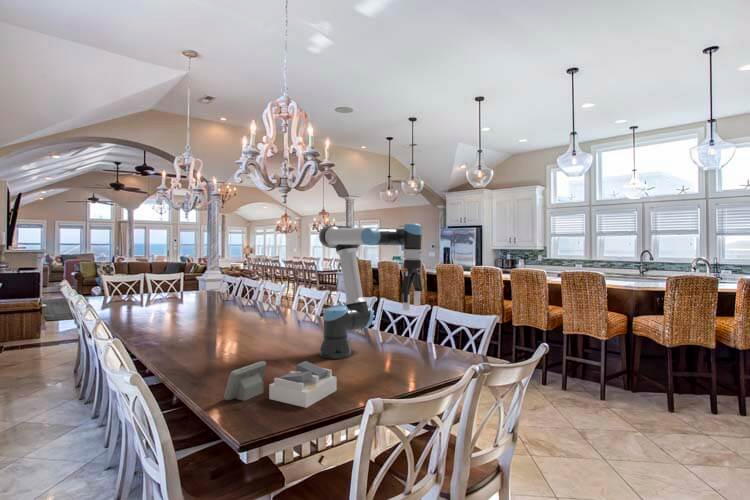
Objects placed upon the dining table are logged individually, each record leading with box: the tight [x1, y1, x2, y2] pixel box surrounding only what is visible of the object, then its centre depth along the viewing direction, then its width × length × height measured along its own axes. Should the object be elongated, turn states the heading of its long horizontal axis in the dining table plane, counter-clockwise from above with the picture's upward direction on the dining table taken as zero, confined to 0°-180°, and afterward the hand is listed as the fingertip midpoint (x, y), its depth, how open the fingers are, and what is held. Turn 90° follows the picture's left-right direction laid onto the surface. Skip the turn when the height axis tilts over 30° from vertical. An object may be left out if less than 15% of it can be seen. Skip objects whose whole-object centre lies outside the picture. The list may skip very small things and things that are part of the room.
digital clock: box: [223, 360, 267, 402], centre depth 144 cm, size 16×9×11 cm, turn 139°
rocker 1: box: [279, 371, 312, 382], centre depth 141 cm, size 10×5×2 cm, turn 62°
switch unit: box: [268, 367, 338, 409], centre depth 145 cm, size 16×18×7 cm
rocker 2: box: [295, 360, 327, 379], centre depth 149 cm, size 10×5×2 cm, turn 62°
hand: (411, 307), depth 177 cm, fingers open, 13 cm apart
